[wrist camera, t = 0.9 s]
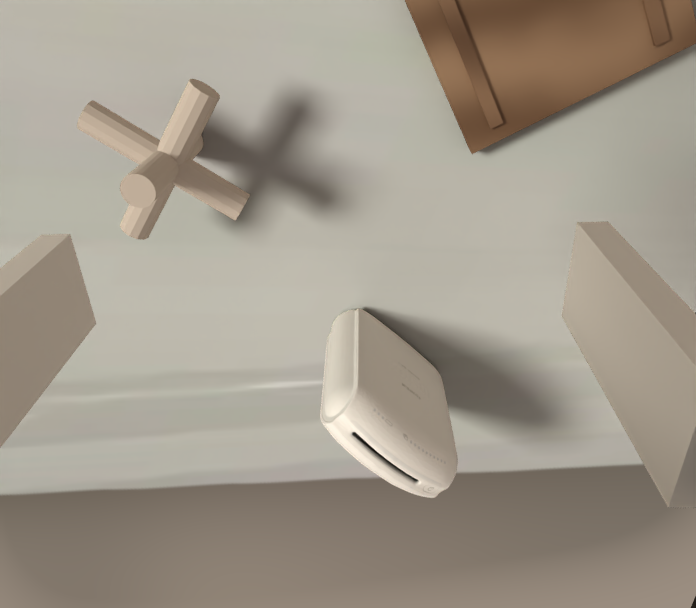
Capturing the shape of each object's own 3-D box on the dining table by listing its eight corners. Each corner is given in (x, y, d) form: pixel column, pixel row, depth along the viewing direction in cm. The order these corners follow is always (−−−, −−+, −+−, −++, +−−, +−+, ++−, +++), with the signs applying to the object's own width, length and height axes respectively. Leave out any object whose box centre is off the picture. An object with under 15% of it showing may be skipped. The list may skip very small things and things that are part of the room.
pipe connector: (293, 118, 38) (270, 163, 29) (223, 238, 42) (185, 308, 33) (149, 25, 35) (77, 43, 26) (91, 162, 39) (13, 216, 31)
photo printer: (449, 373, 47) (473, 492, 37) (411, 403, 49) (423, 525, 38) (357, 296, 44) (354, 401, 33) (319, 330, 46) (304, 442, 35)
